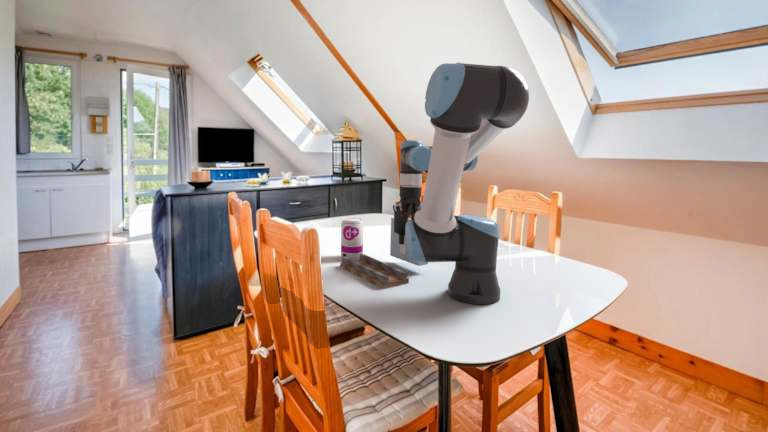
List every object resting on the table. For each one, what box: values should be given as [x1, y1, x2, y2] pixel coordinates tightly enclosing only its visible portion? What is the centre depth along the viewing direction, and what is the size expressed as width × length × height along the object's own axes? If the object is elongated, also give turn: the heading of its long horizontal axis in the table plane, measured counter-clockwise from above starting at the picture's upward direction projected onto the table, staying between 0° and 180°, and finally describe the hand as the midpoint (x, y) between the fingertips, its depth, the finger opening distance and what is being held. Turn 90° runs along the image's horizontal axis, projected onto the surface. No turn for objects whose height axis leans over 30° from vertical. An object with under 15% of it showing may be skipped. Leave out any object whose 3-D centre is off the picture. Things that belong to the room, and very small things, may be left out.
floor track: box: [339, 253, 410, 290], centre depth 136 cm, size 26×10×4 cm, turn 36°
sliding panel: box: [389, 217, 429, 267], centre depth 142 cm, size 16×4×14 cm, turn 36°
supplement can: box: [340, 217, 364, 260], centre depth 153 cm, size 8×8×15 cm
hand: (408, 252), depth 143 cm, fingers closed on sliding panel, 4 cm apart
